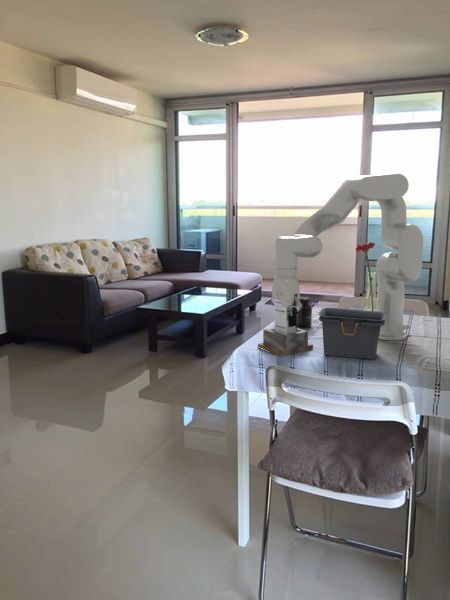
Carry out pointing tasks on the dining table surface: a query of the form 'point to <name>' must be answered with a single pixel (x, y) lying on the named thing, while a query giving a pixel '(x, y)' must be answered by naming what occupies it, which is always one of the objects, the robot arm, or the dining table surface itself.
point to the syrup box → (282, 319)
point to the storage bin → (351, 332)
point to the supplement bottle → (304, 314)
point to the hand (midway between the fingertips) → (286, 323)
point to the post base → (285, 342)
